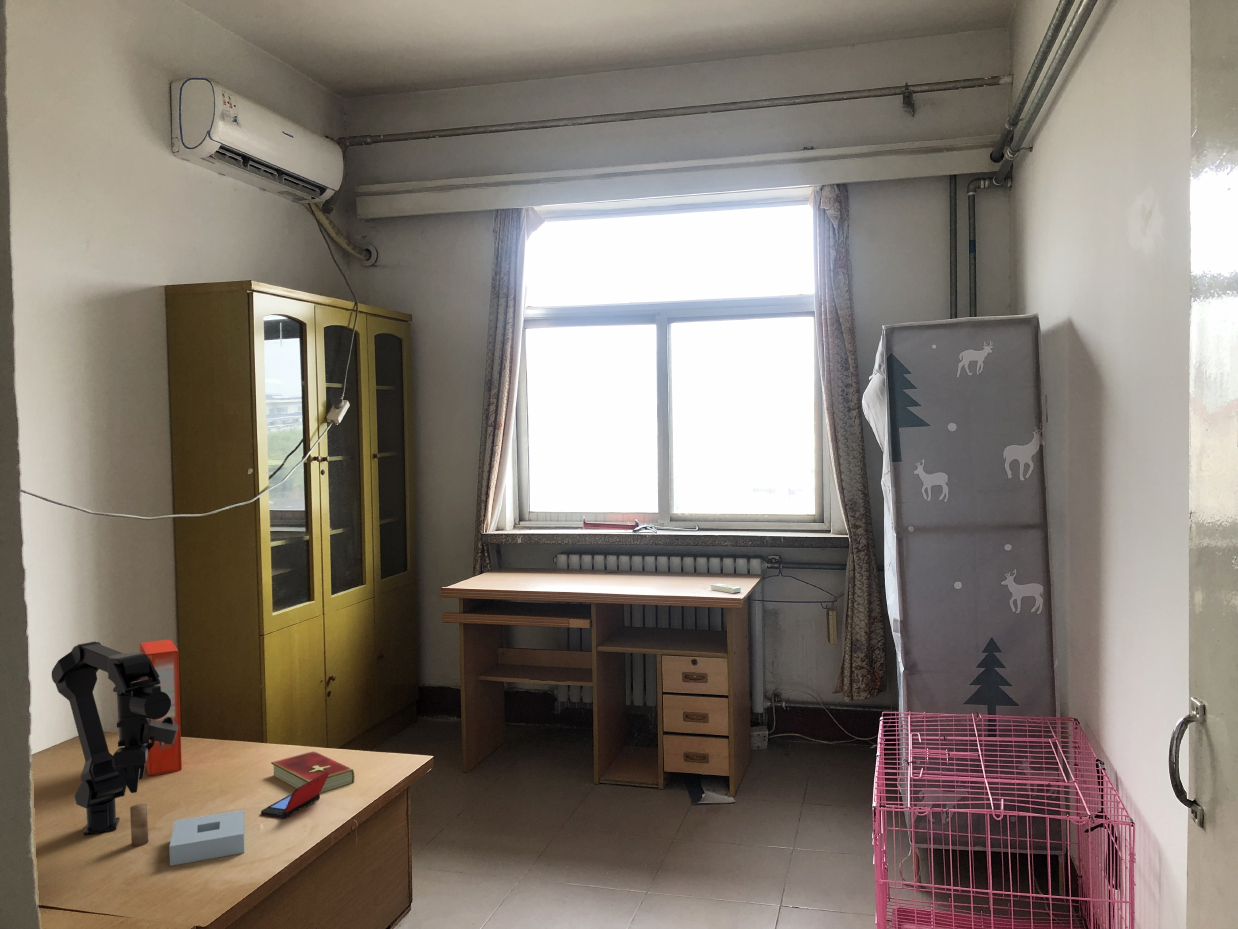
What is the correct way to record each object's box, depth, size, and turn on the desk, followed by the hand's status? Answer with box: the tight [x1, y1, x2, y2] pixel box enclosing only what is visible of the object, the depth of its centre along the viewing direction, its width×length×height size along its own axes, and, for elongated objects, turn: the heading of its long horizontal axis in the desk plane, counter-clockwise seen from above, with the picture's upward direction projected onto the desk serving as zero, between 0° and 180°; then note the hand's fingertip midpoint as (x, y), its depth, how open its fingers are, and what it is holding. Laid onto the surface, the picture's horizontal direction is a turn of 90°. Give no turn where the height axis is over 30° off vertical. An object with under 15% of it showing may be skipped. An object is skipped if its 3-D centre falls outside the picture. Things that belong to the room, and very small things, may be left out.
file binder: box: [139, 639, 183, 776], centre depth 248 cm, size 8×17×32 cm, turn 32°
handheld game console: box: [260, 772, 329, 820], centre depth 215 cm, size 12×11×7 cm
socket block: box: [169, 809, 246, 867], centre depth 196 cm, size 14×14×4 cm
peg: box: [129, 803, 149, 847], centre depth 198 cm, size 3×3×8 cm
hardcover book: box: [270, 750, 355, 793], centre depth 234 cm, size 12×21×4 cm, turn 45°
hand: (137, 785), depth 197 cm, fingers open, 9 cm apart
